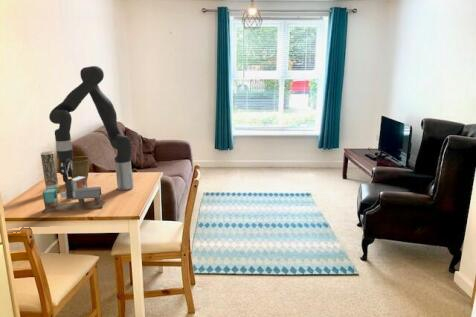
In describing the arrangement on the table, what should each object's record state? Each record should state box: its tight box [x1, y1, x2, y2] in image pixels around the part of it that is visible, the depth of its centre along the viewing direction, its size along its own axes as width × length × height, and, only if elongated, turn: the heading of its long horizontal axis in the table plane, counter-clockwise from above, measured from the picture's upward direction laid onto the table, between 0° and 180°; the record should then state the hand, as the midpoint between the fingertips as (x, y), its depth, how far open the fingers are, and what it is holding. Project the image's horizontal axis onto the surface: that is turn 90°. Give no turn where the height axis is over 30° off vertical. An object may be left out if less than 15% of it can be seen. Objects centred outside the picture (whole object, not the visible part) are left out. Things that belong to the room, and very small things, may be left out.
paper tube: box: [40, 150, 60, 194], centre depth 209 cm, size 7×7×25 cm
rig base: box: [42, 197, 106, 214], centre depth 188 cm, size 29×10×6 cm, turn 100°
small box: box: [71, 176, 88, 191], centre depth 206 cm, size 8×6×10 cm
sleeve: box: [75, 186, 102, 200], centre depth 188 cm, size 12×5×5 cm, turn 100°
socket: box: [42, 188, 59, 204], centre depth 185 cm, size 5×6×6 cm
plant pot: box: [70, 155, 91, 181], centre depth 230 cm, size 15×15×16 cm
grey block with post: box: [60, 178, 100, 200], centre depth 186 cm, size 19×4×10 cm, turn 100°
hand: (68, 179), depth 184 cm, fingers open, 8 cm apart
